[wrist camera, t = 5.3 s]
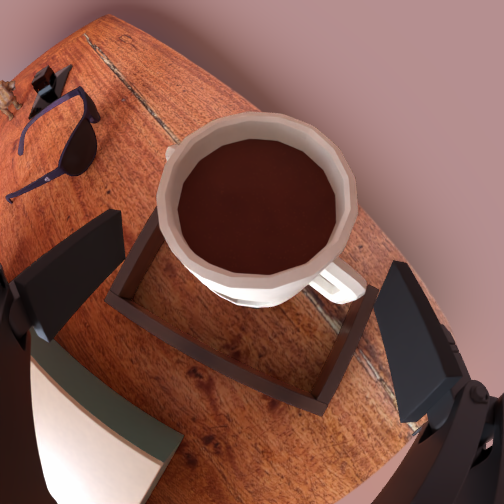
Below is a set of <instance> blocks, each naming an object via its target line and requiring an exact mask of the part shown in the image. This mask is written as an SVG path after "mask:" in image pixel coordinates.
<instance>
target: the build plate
mask: <svg viewBox="0 0 504 504" xmlns="http://www.w3.org/2000/svg"><path fill="white" fill-rule="evenodd" d="M71 68H72V65H71V64H70V65H68V66H67V67H65V68H63V69H62V70H60V71H58V72H57V73H54V72H53V70H52V69H51V68H50V67H49V65H48V66H47V67H45V68H44V69H42V70H41V71H39V72H38V73H36V75H35V77H34V79H33V81H32V83H31V84H32V85H33V88H34V90H35V91H36V92H37V97H36V99H35V102H34V104H33V107H32V110H31V113H30V115H29V118H28V119H29V120H30V119H32V118H33V117H34V116H36V115H37V114H38V113H39V112H41V111H42V110H43V109H44V108H46V107H47V106H48V105H50V104H51V103H52V102H54V101H55V100H57V99H59V98H60V97H61V95H62V92H63V89H64V86H65V83H66V80H67V77H68V74H69V71H70V70H71Z"/></svg>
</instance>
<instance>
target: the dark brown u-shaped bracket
mask: <svg viewBox="0 0 504 504" xmlns="http://www.w3.org/2000/svg"><path fill="white" fill-rule="evenodd" d="M164 239H165V238H164V236H163V234H162V232H161V230H160V226H159V218H158V210H157V206H156V208H155V210H154V211H153V213H152V214H151V216H150V218H149V219H148V221H147V223H146V224H145V226H144V228H143V229H142V231H141V233H140V234H139V236H138V238H137V240H136V241H135V243H134V245H133V247H132V248H131V250H130V252H129V254H128V256H127V257H126V259H125V261H124V263H123V265H122V267H121V269H120V270H119V272H118V274H117V276H116V278H115V280H114V282H113V284H112V286H111V288H110V290H109V292H108V294H107V296H106V298H105V300H104V302H106V303H107V304H109V305H110V306H111V307H113V308H114V309H115V310H117V311H118V312H120V313H121V314H123V315H124V316H125V317H127V318H128V319H130V320H131V321H133V322H134V323H136V324H137V325H139V326H140V327H142V328H143V329H145V330H146V331H148V332H150V333H151V334H153V335H154V336H156V337H158V338H159V339H161V340H162V341H164V342H166V343H167V344H169V345H171V346H172V347H174V348H176V349H177V350H179V351H181V352H183V353H184V354H186V355H188V356H190V357H191V358H193V359H195V360H197V361H199V362H200V363H202V364H204V365H206V366H208V367H210V368H212V369H213V370H215V371H217V372H219V373H221V374H223V375H225V376H227V377H229V378H231V379H233V380H235V381H237V382H239V383H242V384H244V385H246V386H248V387H250V388H252V389H254V390H257V391H259V392H261V393H263V394H266V395H268V396H270V397H273V398H275V399H277V400H280V401H282V402H285V403H287V404H289V405H292V406H295V407H297V408H300V409H302V410H305V411H308V412H310V413H313V414H316V415H319V416H323V414H324V412H325V410H326V409H327V407H328V404H329V403H330V401H331V399H332V397H333V395H334V393H335V391H336V390H337V388H338V386H339V384H340V382H341V380H342V378H343V376H344V374H345V372H346V369H347V367H348V365H349V363H350V361H351V359H352V357H353V354H354V352H355V350H356V348H357V345H358V343H359V341H360V338H361V336H362V334H363V331H364V329H365V326H366V324H367V321H368V319H369V316H370V314H371V311H372V309H373V305H374V303H375V301H376V298H377V295H378V292H379V289H377V288H375V287H373V286H371V285H367V286H366V292H365V294H364V295H363V296H361V297H360V298H358V299H357V300H354V301H352V304H351V306H350V309H349V311H348V314H347V316H346V318H345V321H344V323H343V325H342V328H341V330H340V332H339V335H338V337H337V339H336V341H335V343H334V346H333V348H332V350H331V352H330V354H329V356H328V358H327V360H326V362H325V364H324V367H323V369H322V371H321V373H320V375H319V376H318V378H317V380H316V382H315V384H314V386H313V388H312V390H311V392H307V391H305V390H302V389H300V388H297V387H295V386H292V385H290V384H288V383H285V382H283V381H281V380H278V379H276V378H274V377H272V376H269V375H267V374H265V373H263V372H260V371H258V370H256V369H254V368H252V367H250V366H248V365H246V364H244V363H242V362H239V361H237V360H235V359H233V358H231V357H229V356H227V355H226V354H224V353H222V352H220V351H218V350H216V349H214V348H212V347H210V346H208V345H206V344H205V343H203V342H201V341H199V340H197V339H195V338H194V337H192V336H190V335H188V334H187V333H185V332H183V331H181V330H180V329H178V328H176V327H174V326H173V325H171V324H169V323H168V322H166V321H164V320H163V319H161V318H159V317H158V316H156V315H154V314H153V313H151V312H150V311H148V310H147V309H145V308H143V307H142V306H140V305H139V304H137V303H136V302H134V301H133V300H132V299H133V297H134V295H135V293H136V291H137V289H138V287H139V285H140V283H141V281H142V279H143V277H144V275H145V274H146V272H147V270H148V268H149V266H150V264H151V263H152V261H153V259H154V257H155V255H156V254H157V252H158V250H159V248H160V246H161V245H162V243H163V241H164Z"/></svg>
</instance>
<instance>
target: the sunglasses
mask: <svg viewBox="0 0 504 504" xmlns="http://www.w3.org/2000/svg"><path fill="white" fill-rule="evenodd" d="M77 95H80V97H81V98H82V99H83V102H84V113H83V116H82V118H81V120H80V122H79V123H78V125H77V126H76V128H75V129H74V131H73V132H72V134H71V136H70V138H69V140H68V141H67V143H66V145H65V147H64V149H63V152H62V154H61V156H60V159H59V164H58V167H57V168H56V169H55V170H53V171H51V172H49V173H47V174H46V175H44V176H42V177H41V178H39V179H38V180H36V181H34V182H32V183H31V184H29V185H27V186H25V187H24V188H22V189H20V190H18V191H16V192H14V193H11V194H8V195H6V197H5V198H6V200H7V201H8V202H9V203H11V204H12V203H13V201H12V200H11V199H10V198H13V197H16V196H19V195H22V194H24V193H26V192H28V191H31V190H33V189H35V188H37V187H39V186H41V185H43V184H45V183H47V182H49V181H51V180H53V179H55V178H57V177H59V176H61V175H63V174H65V173H66V174H67V175H69V176H79V175H81V174H83V173H84V172H85V171H86V170H87V169H88V168H89V166H90V165H91V164H92V162H93V160H94V158H95V155H96V152H97V140H96V135H95V132H94V130H93V127H92V125H91V124H90V123H97V122H99V121H100V120H101V118H100V115H99V113H98V111H97V109H96V106H95V104H94V102H93V101H92V99H91V98H90V97H89V96H88V95H87V93H86V92H85V91H84V89H83V88H82V87H81V86H79V87H78V88H76V89H74V90H72V91H70V92H68V93H67V94H65V95H63V96H62V97H60V98H59V99H57V100H55V101H54V102H52V103H51V104H50V105H48V106H47V107H46V108H44V109H43V110H42V111H41V112H39V113H38V114H37V115H36V116H35V117H34V118H33V119H32V120H31V121H30V122H29V123H28V124H27V125H26V127H25V128H24V130H23V132H22V134H21V137H20V142H19V148H18V155H20V156H21V155H22V154H23V151H24V137H25V134H26V131H27V130H28V128H29V127H30V126H31V125H32V124H33V123H34V122H35V121H36V120H37V119H38V118H39V117H41V116H42V115H43V114H45V113H46V112H48V111H49V110H51V109H52V108H54V107H56V106H58V105H59V104H61V103H63V102H65V101H66V100H68V99H70V98H72V97H74V96H77Z"/></svg>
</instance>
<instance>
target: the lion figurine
mask: <svg viewBox="0 0 504 504" xmlns="http://www.w3.org/2000/svg"><path fill="white" fill-rule="evenodd" d="M15 89H16V87H15V80H14V81H10V82H8V81H7V82H4V81H3V80H2V81H0V110H1V111H2V112H3V113H4V114H6V115H7V116H8V117H9V120H11V119H12V118H13V117H14V115H13V113H11V112H9V111H8V107H9V106H10V105H11V104H12V103H13V104H14V106H15V108H16V109H20V108H21V107H22V104H19V103H18V102H17V101H16V96H14V95H13V92H12V91H14V90H15Z"/></svg>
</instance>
